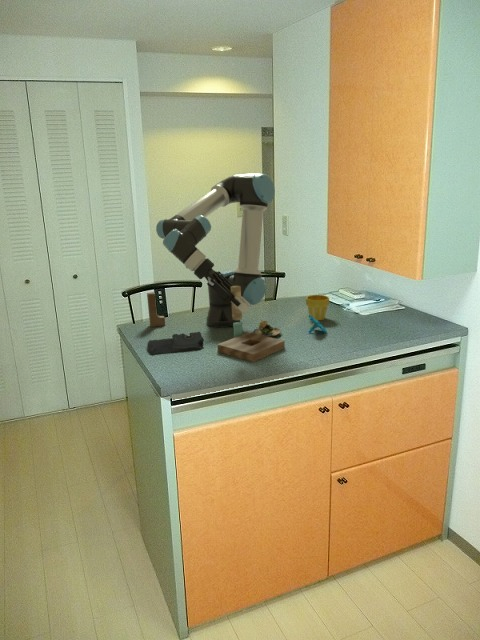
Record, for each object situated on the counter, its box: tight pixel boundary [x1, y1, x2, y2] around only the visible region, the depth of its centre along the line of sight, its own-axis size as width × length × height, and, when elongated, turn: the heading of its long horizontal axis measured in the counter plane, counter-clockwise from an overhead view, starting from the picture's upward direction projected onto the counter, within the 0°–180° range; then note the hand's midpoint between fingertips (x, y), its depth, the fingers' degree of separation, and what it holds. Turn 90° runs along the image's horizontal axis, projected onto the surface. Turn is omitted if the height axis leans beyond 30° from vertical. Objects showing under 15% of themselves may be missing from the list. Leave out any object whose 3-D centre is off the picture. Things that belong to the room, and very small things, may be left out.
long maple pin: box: [231, 286, 243, 321], centre depth 187 cm, size 4×4×12 cm
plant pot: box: [305, 294, 330, 321], centre depth 230 cm, size 10×10×10 cm
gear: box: [308, 315, 328, 334], centre depth 212 cm, size 11×6×10 cm
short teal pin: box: [232, 321, 244, 338], centre depth 206 cm, size 4×4×7 cm
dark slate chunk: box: [147, 331, 205, 356], centre depth 202 cm, size 15×22×5 cm
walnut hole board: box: [216, 331, 286, 363], centre depth 195 cm, size 18×18×3 cm
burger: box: [252, 320, 282, 338], centre depth 211 cm, size 12×12×8 cm
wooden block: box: [146, 291, 166, 328], centre depth 230 cm, size 7×3×15 cm, turn 106°
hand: (247, 309), depth 187 cm, fingers closed on long maple pin, 3 cm apart
